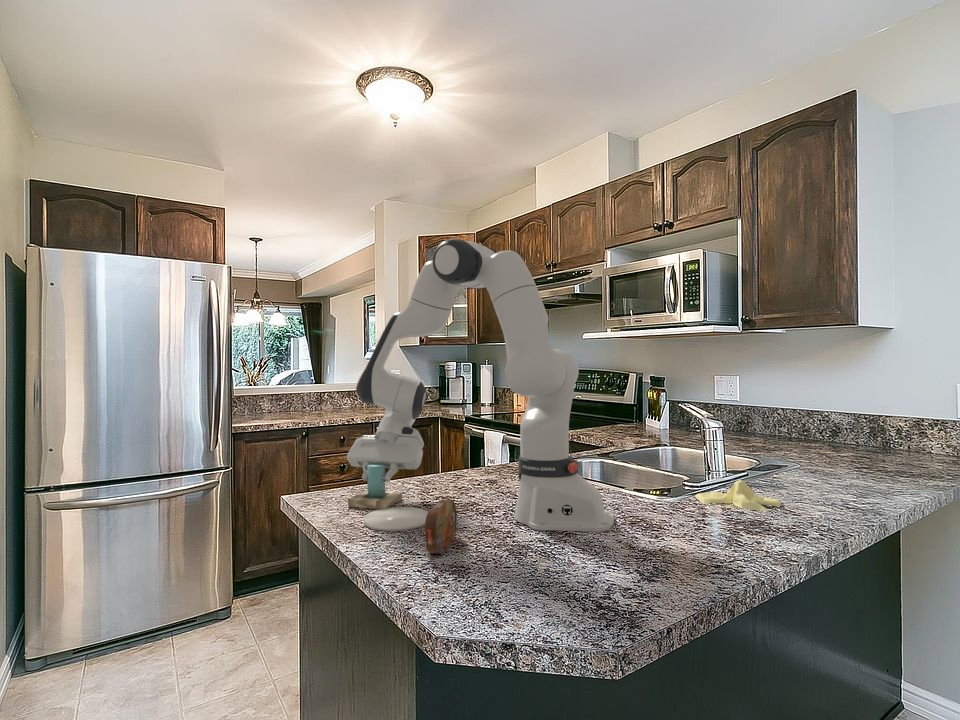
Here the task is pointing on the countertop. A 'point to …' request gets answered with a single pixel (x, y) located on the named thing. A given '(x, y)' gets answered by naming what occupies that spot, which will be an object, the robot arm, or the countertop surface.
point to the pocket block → (374, 500)
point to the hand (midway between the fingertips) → (375, 480)
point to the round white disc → (395, 519)
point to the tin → (440, 526)
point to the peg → (376, 481)
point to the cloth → (738, 498)
